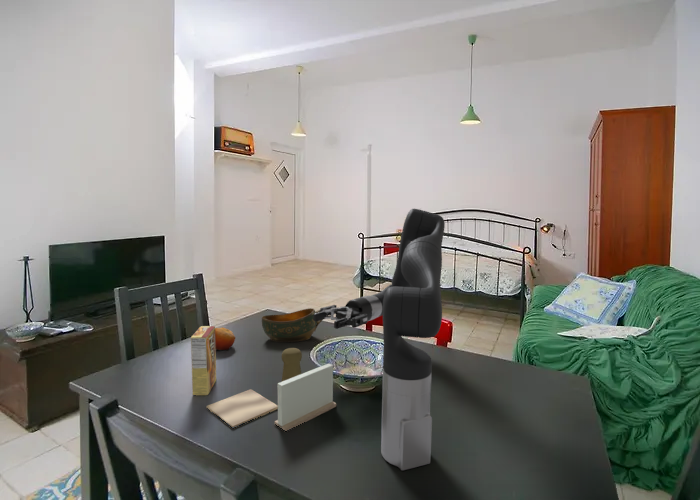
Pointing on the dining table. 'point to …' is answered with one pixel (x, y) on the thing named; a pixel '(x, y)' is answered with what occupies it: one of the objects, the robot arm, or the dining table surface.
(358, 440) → the dining table surface
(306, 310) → the green gravy boat
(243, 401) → the board
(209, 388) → the candy box
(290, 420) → the screen
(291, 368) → the pepper mill
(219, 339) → the fruit
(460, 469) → the dining table surface
